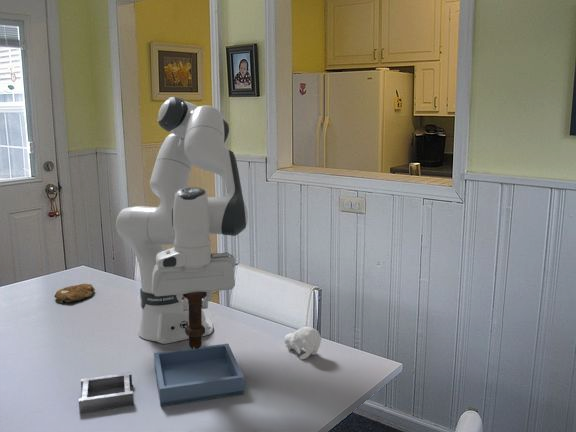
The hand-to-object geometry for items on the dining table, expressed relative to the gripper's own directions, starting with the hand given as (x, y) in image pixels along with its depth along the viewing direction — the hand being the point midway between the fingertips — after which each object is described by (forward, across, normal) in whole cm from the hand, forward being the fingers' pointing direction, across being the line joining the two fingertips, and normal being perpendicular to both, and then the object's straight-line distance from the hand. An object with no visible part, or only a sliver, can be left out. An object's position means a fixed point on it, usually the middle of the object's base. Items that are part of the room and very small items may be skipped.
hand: (194, 308), depth 142 cm
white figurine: (+20, -30, -8) cm, 37 cm away
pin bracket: (+20, +22, +2) cm, 29 cm away
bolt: (+10, 0, 0) cm, 10 cm away
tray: (+19, 0, 0) cm, 19 cm away
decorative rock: (+20, +33, -75) cm, 84 cm away
